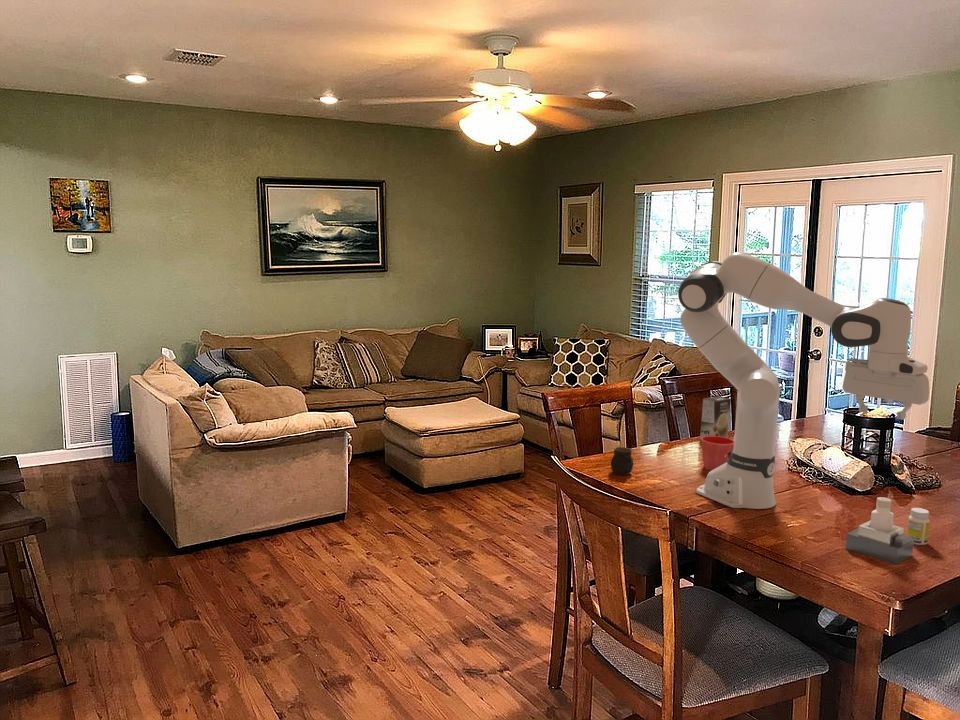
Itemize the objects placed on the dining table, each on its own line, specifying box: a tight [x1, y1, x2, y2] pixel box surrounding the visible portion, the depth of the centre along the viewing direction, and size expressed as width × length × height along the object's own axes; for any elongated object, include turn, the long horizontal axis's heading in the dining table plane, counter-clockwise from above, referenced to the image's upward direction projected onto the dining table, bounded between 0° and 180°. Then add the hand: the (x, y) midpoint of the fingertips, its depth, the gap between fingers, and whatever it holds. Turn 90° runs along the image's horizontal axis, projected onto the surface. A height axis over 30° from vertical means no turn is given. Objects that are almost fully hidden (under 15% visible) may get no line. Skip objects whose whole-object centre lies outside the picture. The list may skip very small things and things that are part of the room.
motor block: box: [845, 519, 914, 566], centre depth 192 cm, size 12×9×6 cm
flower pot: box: [700, 436, 734, 471], centre depth 259 cm, size 11×11×10 cm
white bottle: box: [870, 496, 895, 533], centre depth 191 cm, size 4×4×10 cm
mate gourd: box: [610, 445, 635, 476], centre depth 251 cm, size 7×8×10 cm
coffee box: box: [699, 396, 732, 441], centre depth 295 cm, size 9×6×16 cm
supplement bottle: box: [906, 507, 931, 546], centre depth 199 cm, size 5×5×8 cm
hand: (881, 415), depth 201 cm, fingers open, 8 cm apart
